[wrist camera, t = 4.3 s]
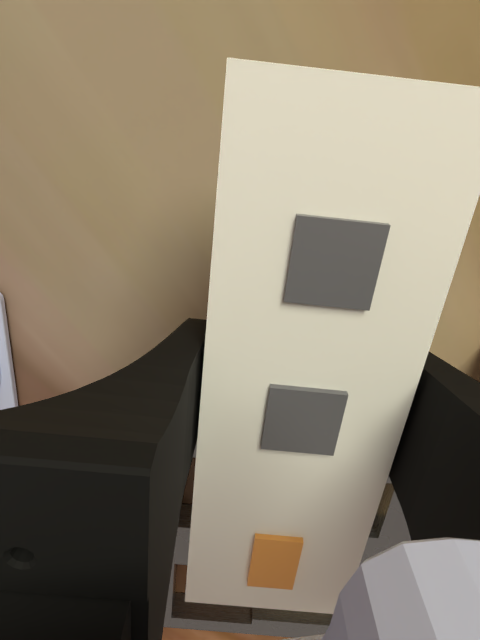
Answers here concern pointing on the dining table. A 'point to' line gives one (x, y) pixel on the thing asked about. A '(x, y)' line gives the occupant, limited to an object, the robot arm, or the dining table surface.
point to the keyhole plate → (264, 621)
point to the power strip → (319, 317)
